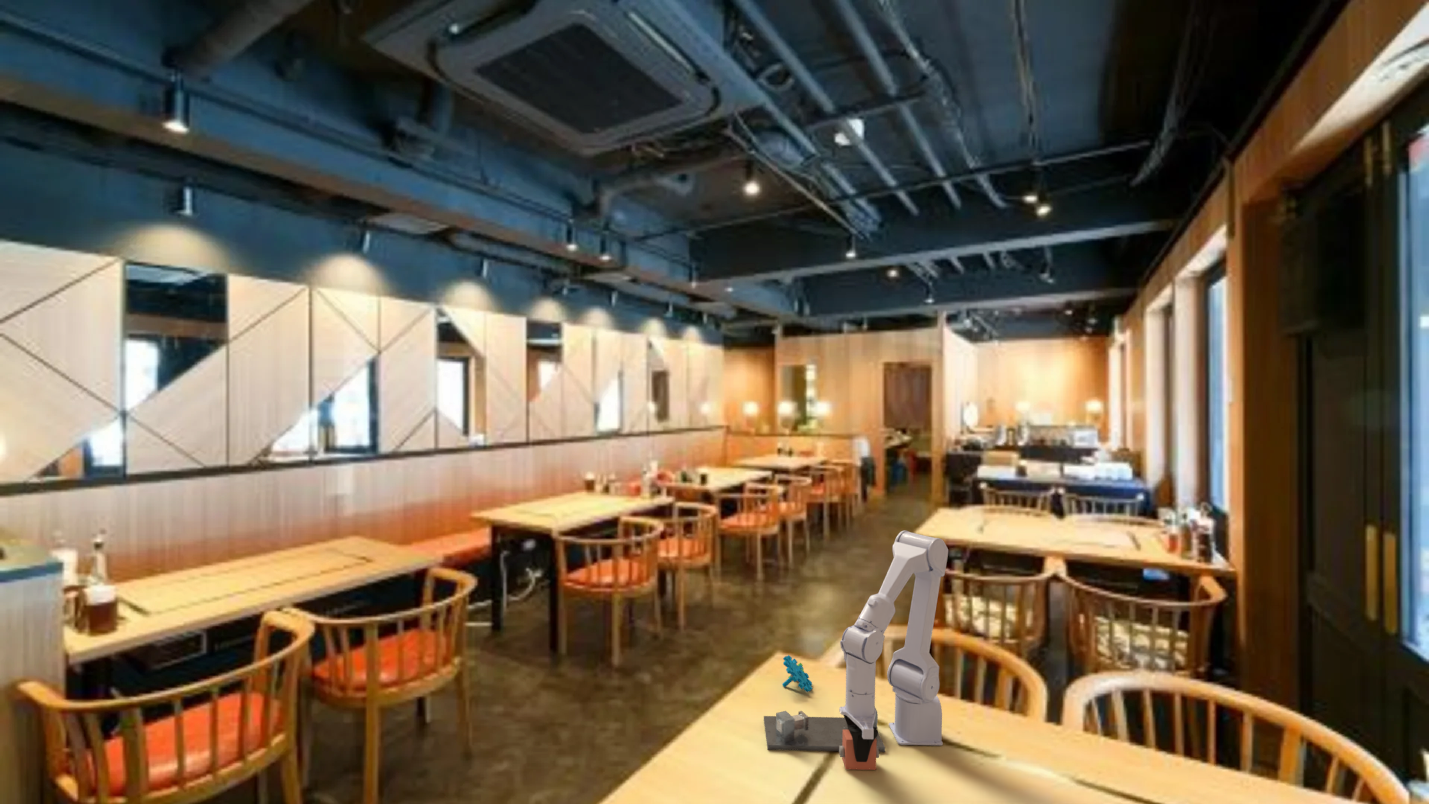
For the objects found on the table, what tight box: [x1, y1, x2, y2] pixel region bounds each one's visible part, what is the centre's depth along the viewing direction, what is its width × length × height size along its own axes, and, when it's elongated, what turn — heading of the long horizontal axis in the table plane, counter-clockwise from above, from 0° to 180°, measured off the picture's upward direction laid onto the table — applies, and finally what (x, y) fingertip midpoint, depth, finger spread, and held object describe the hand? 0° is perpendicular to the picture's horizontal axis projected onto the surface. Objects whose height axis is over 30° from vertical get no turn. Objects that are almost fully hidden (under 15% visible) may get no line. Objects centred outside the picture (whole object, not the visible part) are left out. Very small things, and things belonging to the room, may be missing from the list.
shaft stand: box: [763, 707, 886, 753], centre depth 136 cm, size 24×12×6 cm, turn 90°
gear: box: [781, 654, 814, 693], centre depth 158 cm, size 11×6×10 cm
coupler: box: [838, 730, 880, 771], centre depth 126 cm, size 8×4×6 cm, turn 90°
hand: (858, 754), depth 126 cm, fingers closed on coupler, 4 cm apart
